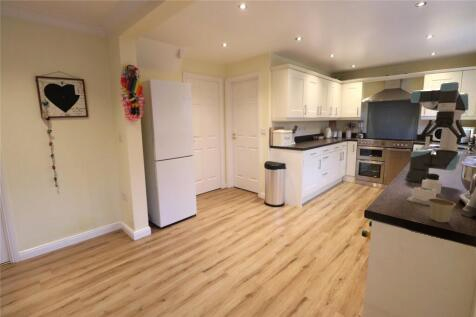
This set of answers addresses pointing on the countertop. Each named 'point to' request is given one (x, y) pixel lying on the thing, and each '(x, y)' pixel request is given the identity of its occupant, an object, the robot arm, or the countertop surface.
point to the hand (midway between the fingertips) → (440, 148)
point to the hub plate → (419, 200)
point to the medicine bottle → (432, 182)
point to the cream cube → (424, 193)
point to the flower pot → (440, 209)
